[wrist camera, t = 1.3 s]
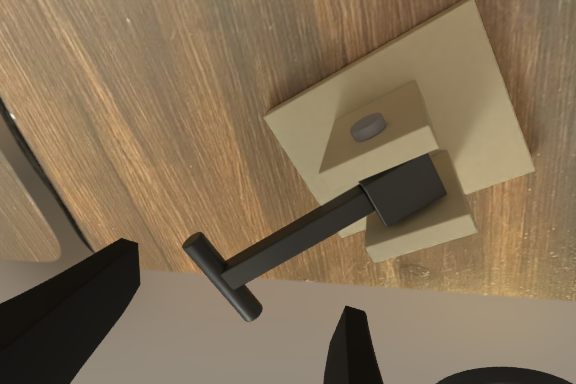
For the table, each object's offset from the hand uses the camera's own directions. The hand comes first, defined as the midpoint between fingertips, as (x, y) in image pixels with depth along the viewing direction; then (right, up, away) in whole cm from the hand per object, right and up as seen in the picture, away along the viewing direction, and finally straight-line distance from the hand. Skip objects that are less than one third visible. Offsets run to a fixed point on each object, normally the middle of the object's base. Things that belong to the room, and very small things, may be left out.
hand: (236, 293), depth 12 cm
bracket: (+7, +6, +8) cm, 12 cm away
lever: (+3, +2, +5) cm, 6 cm away
